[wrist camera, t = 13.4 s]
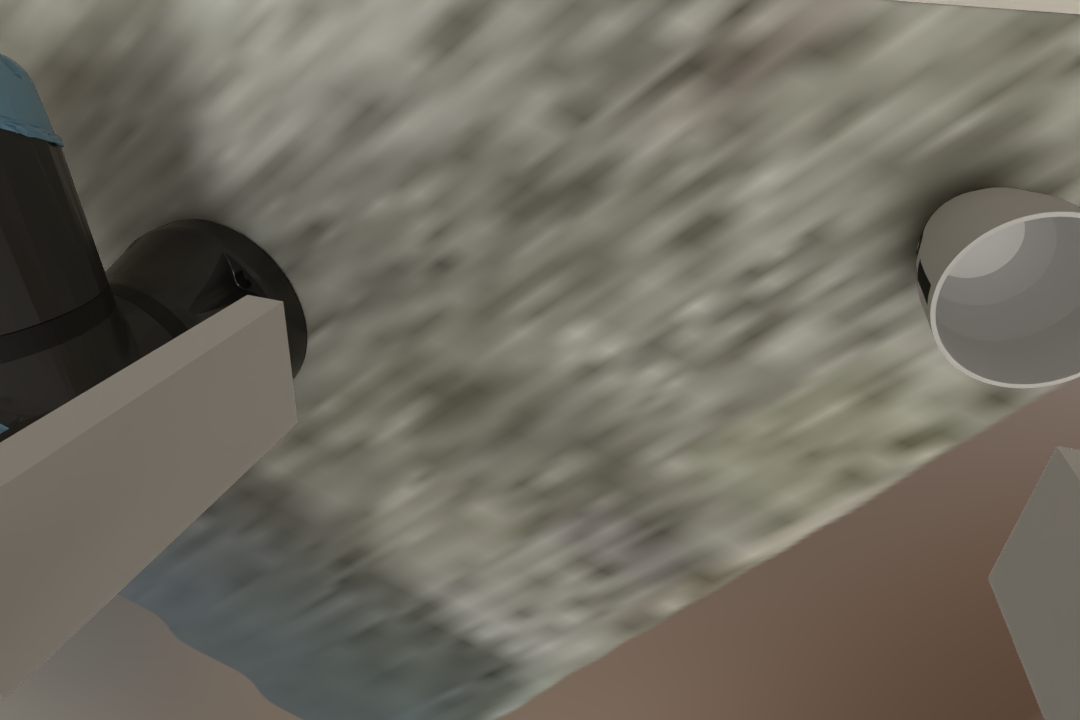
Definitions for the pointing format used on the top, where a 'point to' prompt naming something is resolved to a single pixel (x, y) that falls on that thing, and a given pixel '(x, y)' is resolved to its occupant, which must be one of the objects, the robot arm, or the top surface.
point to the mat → (1016, 4)
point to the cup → (1004, 286)
